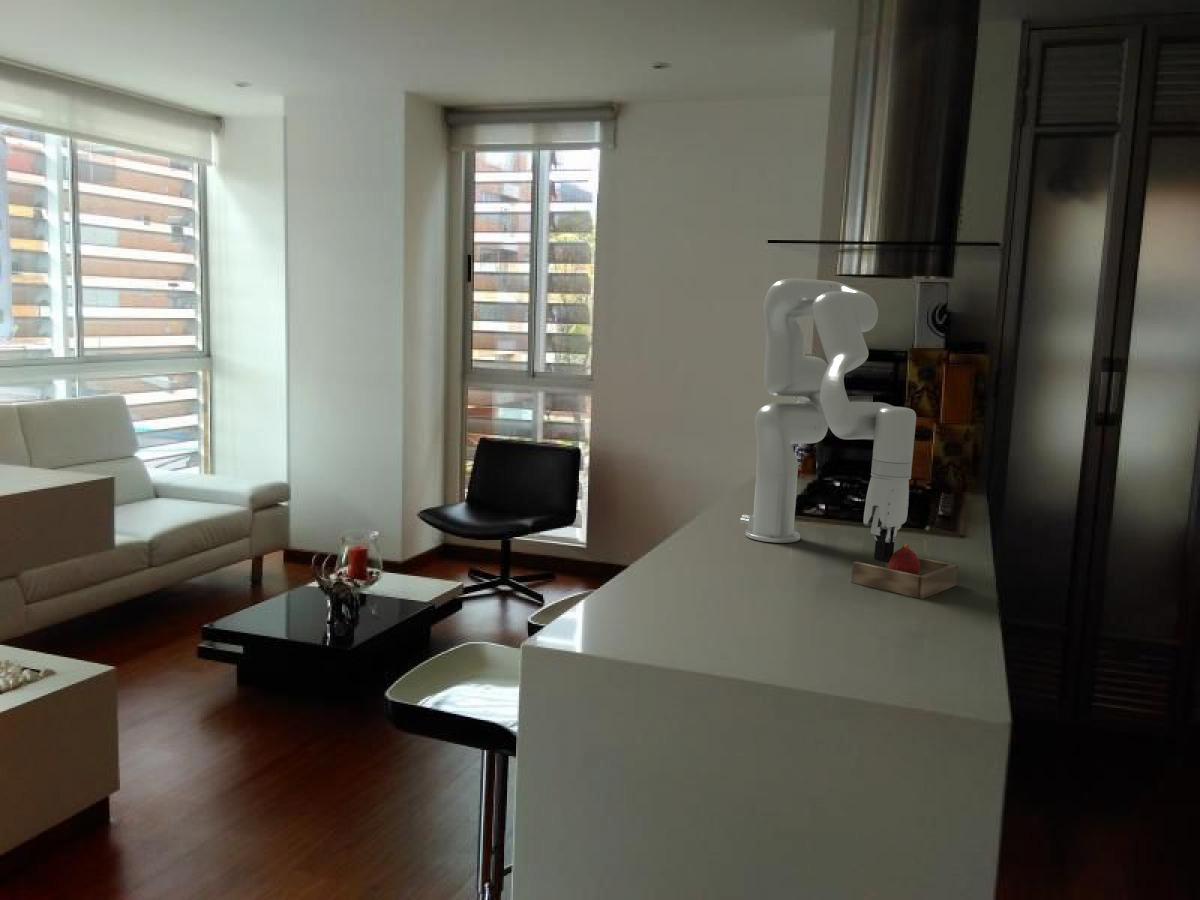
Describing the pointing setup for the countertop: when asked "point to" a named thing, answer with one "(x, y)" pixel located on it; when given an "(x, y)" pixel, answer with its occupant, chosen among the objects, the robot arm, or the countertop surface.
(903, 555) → the onion
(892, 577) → the wooden tray
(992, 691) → the countertop surface
